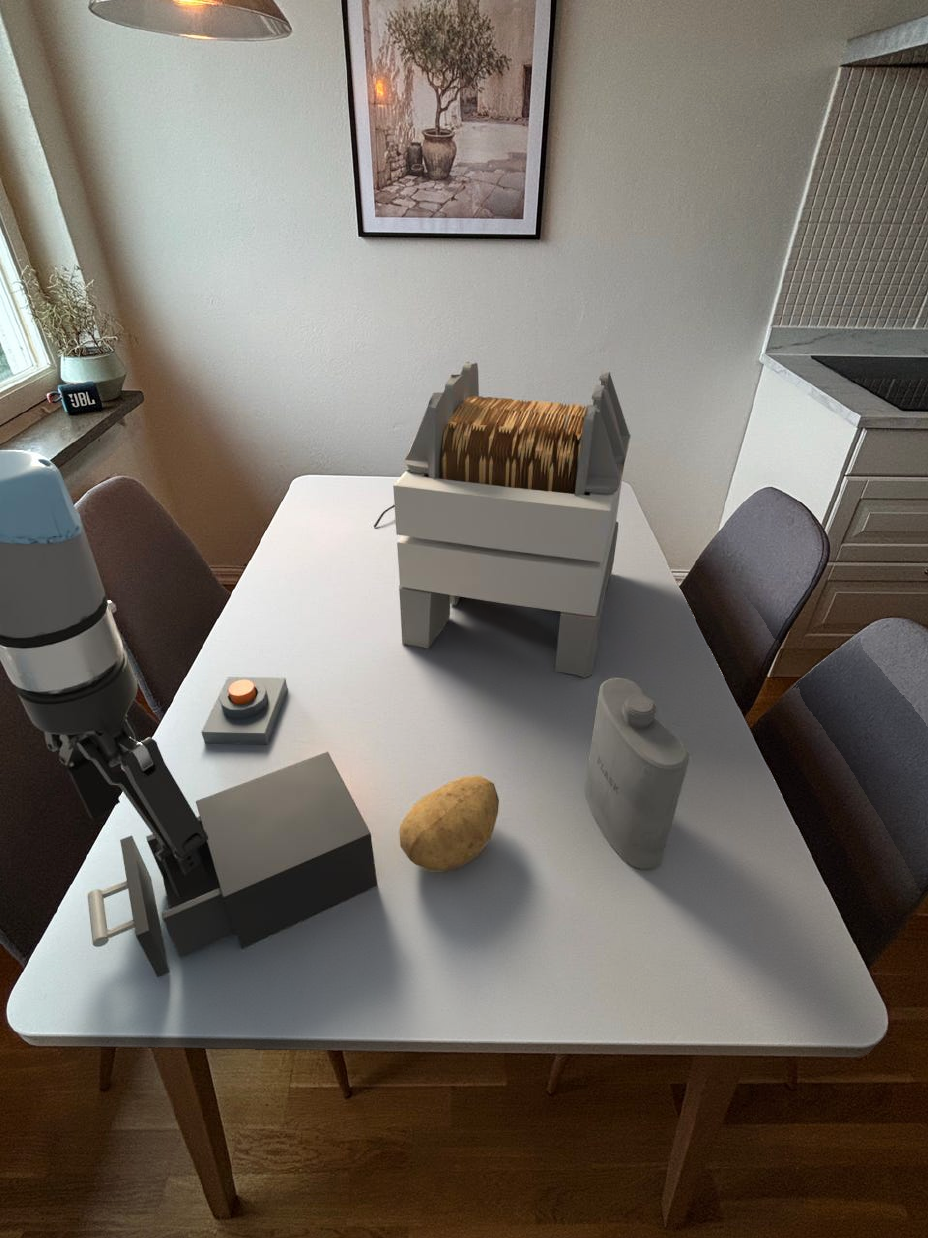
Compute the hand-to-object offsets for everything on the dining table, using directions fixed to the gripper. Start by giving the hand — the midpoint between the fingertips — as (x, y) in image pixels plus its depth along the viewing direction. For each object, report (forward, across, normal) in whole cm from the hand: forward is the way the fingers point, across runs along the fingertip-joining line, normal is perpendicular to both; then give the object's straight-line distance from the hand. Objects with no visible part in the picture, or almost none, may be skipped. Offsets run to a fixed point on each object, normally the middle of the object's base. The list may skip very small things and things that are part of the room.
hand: (145, 845), depth 62 cm
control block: (+17, +24, -27) cm, 40 cm away
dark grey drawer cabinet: (+18, -2, -13) cm, 22 cm away
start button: (+14, +24, -27) cm, 39 cm away
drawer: (+17, +3, -3) cm, 17 cm away
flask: (+17, -29, -42) cm, 54 cm away
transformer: (+17, +8, -75) cm, 77 cm away
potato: (+18, -15, -27) cm, 35 cm away
